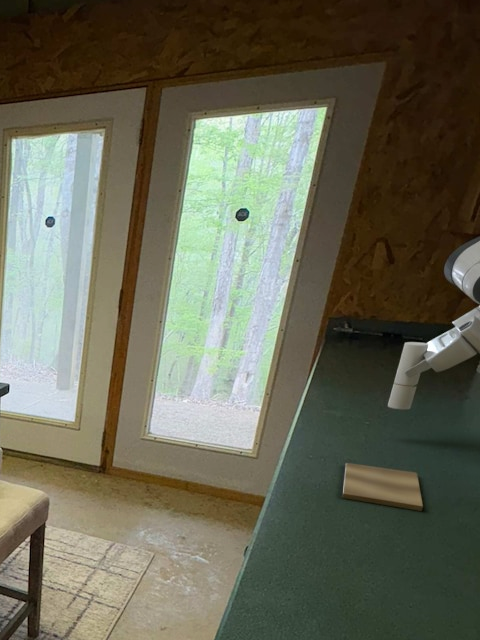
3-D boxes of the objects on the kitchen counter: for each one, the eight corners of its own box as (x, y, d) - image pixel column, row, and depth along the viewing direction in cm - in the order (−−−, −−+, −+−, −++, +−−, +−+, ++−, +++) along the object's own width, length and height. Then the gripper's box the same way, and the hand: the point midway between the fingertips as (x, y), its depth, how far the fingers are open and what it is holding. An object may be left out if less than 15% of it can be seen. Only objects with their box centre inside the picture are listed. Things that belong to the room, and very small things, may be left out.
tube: (394, 409, 147) (412, 345, 141) (383, 404, 151) (400, 342, 145) (414, 409, 146) (433, 345, 141) (403, 404, 150) (421, 341, 144)
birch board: (345, 467, 136) (346, 462, 136) (415, 477, 129) (417, 472, 129) (341, 498, 121) (343, 493, 121) (421, 511, 114) (423, 506, 114)
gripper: (459, 315, 145) (394, 354, 154) (470, 327, 129) (397, 370, 138) (479, 336, 144) (413, 374, 153) (492, 351, 129) (418, 392, 138)
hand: (405, 372), depth 146 cm, fingers closed on tube, 4 cm apart
